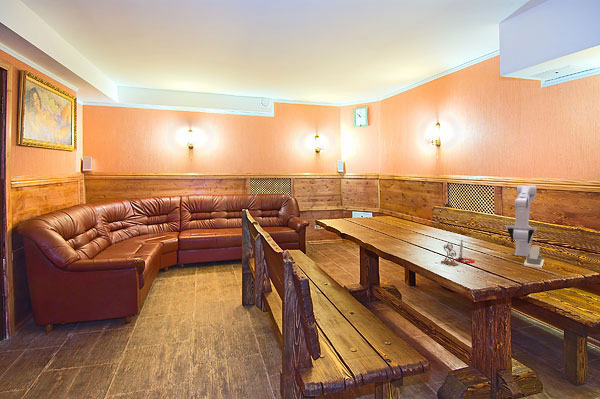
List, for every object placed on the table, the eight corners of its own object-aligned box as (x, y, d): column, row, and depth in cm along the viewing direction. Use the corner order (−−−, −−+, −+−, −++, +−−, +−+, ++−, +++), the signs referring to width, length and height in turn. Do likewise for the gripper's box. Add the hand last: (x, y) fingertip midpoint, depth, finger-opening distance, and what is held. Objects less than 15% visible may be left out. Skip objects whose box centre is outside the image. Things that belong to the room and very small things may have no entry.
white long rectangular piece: (531, 253, 187) (531, 245, 186) (539, 254, 184) (539, 245, 184) (529, 258, 177) (529, 249, 177) (537, 259, 175) (537, 250, 175)
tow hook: (467, 259, 194) (454, 260, 192) (468, 238, 193) (455, 238, 191) (478, 263, 186) (464, 264, 183) (479, 241, 185) (466, 241, 182)
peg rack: (526, 259, 190) (527, 252, 190) (543, 261, 185) (544, 254, 184) (523, 265, 178) (524, 258, 177) (542, 268, 173) (542, 260, 172)
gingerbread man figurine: (458, 265, 181) (459, 244, 180) (453, 266, 179) (454, 245, 178) (445, 261, 189) (445, 241, 188) (440, 262, 187) (440, 242, 186)
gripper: (505, 218, 188) (504, 241, 189) (536, 220, 179) (535, 245, 180) (507, 217, 193) (506, 240, 194) (537, 219, 184) (536, 243, 185)
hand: (520, 242), depth 187 cm, fingers open, 7 cm apart
